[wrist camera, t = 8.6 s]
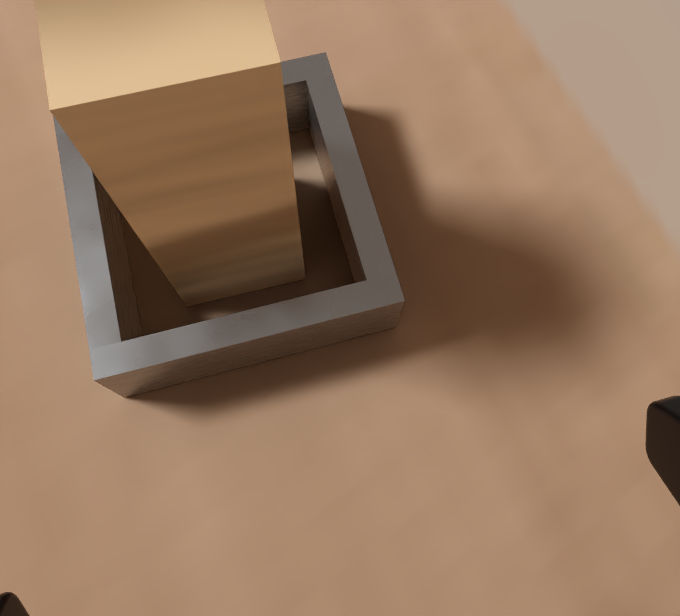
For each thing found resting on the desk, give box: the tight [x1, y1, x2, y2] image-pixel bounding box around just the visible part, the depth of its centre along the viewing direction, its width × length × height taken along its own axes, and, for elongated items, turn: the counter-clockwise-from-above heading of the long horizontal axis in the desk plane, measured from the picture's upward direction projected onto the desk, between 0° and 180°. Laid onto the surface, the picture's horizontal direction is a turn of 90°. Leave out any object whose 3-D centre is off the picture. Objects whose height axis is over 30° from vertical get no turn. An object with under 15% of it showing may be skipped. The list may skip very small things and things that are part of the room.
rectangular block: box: [34, 0, 306, 307], centre depth 19 cm, size 4×4×12 cm
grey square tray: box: [53, 52, 405, 398], centre depth 23 cm, size 10×10×3 cm
